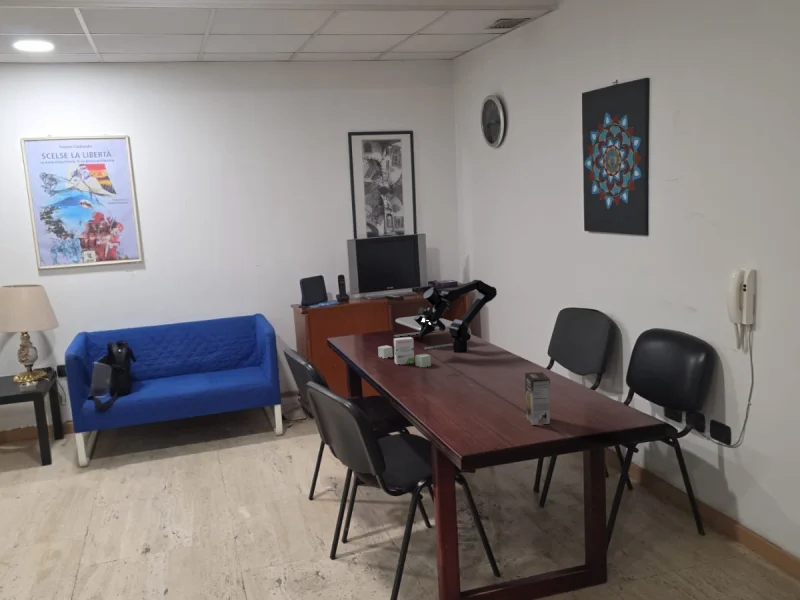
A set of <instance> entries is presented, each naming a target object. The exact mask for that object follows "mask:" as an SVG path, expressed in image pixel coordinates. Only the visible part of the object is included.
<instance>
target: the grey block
mask: <svg viewBox="0 0 800 600" xmlns="http://www.w3.org/2000/svg"><path fill="white" fill-rule="evenodd" d="M377 350H378V351H377V354H378V358H381V357H382V358H381V359H384V358H385V359H389V358H388V357H390V358H393V357H394V355H393V353H394V349H393V347H392V346H390V345H387V344H386V345H381V346H378V347H377Z"/></svg>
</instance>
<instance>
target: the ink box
mask: <svg viewBox="0 0 800 600" xmlns="http://www.w3.org/2000/svg"><path fill="white" fill-rule="evenodd" d="M414 341H415V340H414V338H413V337H411V336H404V337H395V338H394V337H393V348H394V349H393V353H394V355H393V357H394V364H396V365H398V364H400V365H409V363H410V364H415V348H414V347H415V346H414V344H415V343H414ZM398 366H399V365H398Z"/></svg>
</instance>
